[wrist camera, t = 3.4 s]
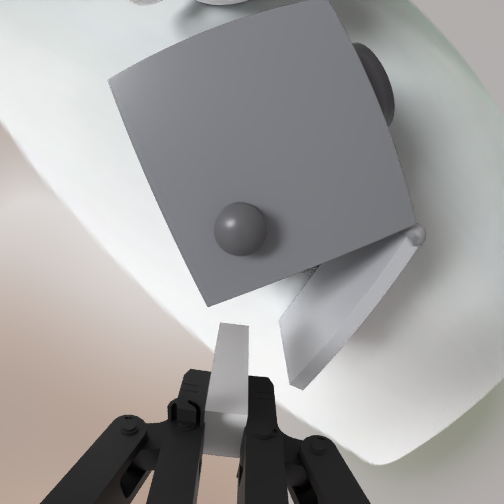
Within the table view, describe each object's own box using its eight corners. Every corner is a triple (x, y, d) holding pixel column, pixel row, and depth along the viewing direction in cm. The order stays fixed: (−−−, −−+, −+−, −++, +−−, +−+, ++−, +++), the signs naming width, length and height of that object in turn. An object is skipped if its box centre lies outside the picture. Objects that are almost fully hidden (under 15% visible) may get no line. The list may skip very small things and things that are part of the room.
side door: (277, 319, 25) (288, 383, 17) (363, 199, 22) (415, 219, 14) (294, 329, 25) (310, 393, 17) (380, 211, 22) (435, 237, 15)
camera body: (158, 106, 20) (100, 76, 11) (325, 44, 19) (370, -16, 10) (223, 254, 24) (207, 317, 14) (384, 191, 22) (458, 214, 13)
